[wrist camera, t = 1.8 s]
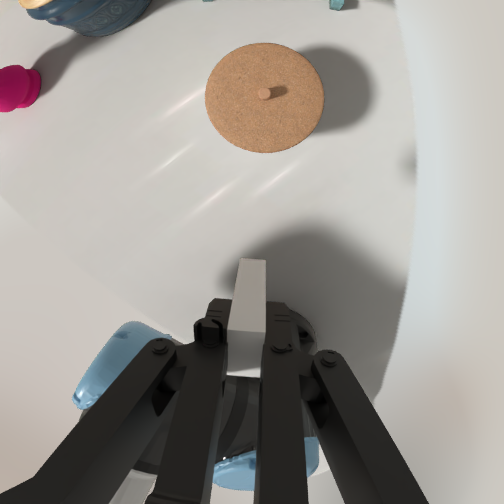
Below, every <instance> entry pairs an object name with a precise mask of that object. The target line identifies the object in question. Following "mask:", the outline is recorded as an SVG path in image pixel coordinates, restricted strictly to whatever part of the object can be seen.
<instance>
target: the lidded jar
mask: <svg viewBox="0 0 504 504" xmlns="http://www.w3.org/2000/svg"><path fill="white" fill-rule="evenodd" d="M205 104H206V109H207V113H208V116H209V118H210V121H211V122H212V124H213V126H214V127H215V129H216V130H217V131H218V132H219V133H220V135H222V136H223V137H224V138H225V139H226V140H227V141H229V142H230V143H232V144H234V145H235V146H237V147H240V148H242V149H245V150H248V151H252V152H259V153H273V152H279V151H283V150H286V149H289V148H291V147H293V146H295V145H297V144H299V143H300V142H301V141H303V140H304V139H306V138H307V137H308V136H309V135H310V134H311V133H312V131H313V130H314V129H315V127H316V126H317V124H318V122H319V120H320V118H321V115H322V112H323V107H324V90H323V85H322V82H321V80H320V77H319V75H318V73H317V72H316V70H315V68H314V67H313V66H312V65H311V63H310V62H309V61H308V60H307V59H306V58H304V57H303V56H302V55H301V54H299V53H298V52H296V51H294V50H292V49H290V48H288V47H285V46H282V45H278V44H272V43H255V44H250V45H246V46H243V47H240V48H238V49H236V50H234V51H232V52H230V53H229V54H228V55H226V56H225V57H224V58H223V59H222V60H221V61H220V62H219V63H218V64H217V65H216V66H215V68H214V69H213V71H212V73H211V75H210V77H209V79H208V82H207V85H206V91H205Z"/></svg>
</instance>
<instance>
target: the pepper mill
mask: <svg viewBox="0 0 504 504" xmlns="http://www.w3.org/2000/svg"><path fill="white" fill-rule="evenodd" d="M40 86H41V78H40V75H39V73H38V72H37V71H36V70H31V69H25V68H24V67H22V66H20V65H11V66H7V67H4V68H2V69H0V112H10V111H13V110H14V109H15V108H26V107H29V106H30V105H31V104H32V103H33V102H34V101H35V100H36V98H37V96H38V94H39V91H40Z"/></svg>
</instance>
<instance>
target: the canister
mask: <svg viewBox="0 0 504 504" xmlns="http://www.w3.org/2000/svg"><path fill="white" fill-rule="evenodd" d="M18 1H19V3H20V5H21V6H22V7H24V8H26V11H27V13H28V14H29V16H30V17H32V18H33V19H37V20H46V21H48V22H49V23H50V24H53V25H59V26H63V27H66V28H69V29H72V30H74V31H75V32H77V33H79V34H81V35H84V36H90V37H102V36H107V35H111V34H113V33H116V32H118V31H120V30H122V29H124V28H125V27H127V26H128V25H130V24H131V23H132V22H134V21H135V20H136V19H137V18H138V17H139V16H140V15H141V14H142V13H143V12H144V11H145V9H146V8H147V7H148V5H149V4H150V2H151V0H18Z"/></svg>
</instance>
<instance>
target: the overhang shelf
mask: <svg viewBox="0 0 504 504" xmlns="http://www.w3.org/2000/svg"><path fill="white" fill-rule="evenodd" d="M207 1H213V0H203V2H207ZM343 4H344V0H330V9H332V10H338V11H339V10H340V9H341V7H342V6H343Z"/></svg>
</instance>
